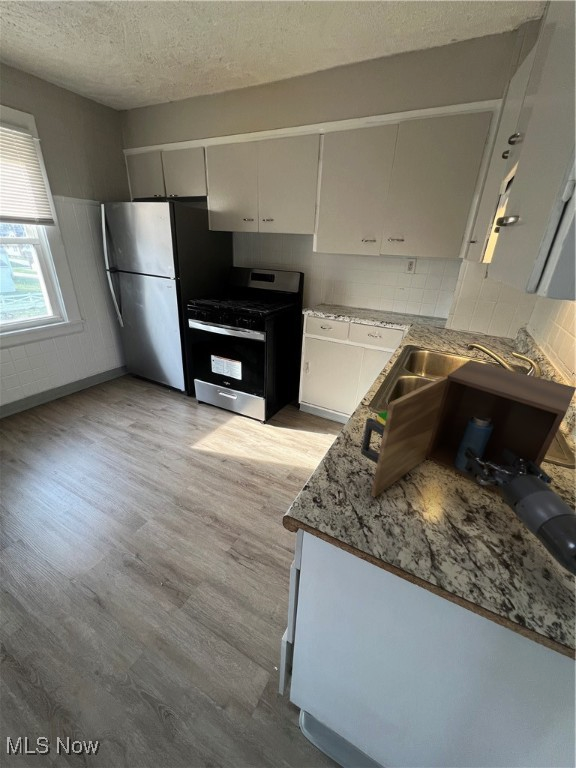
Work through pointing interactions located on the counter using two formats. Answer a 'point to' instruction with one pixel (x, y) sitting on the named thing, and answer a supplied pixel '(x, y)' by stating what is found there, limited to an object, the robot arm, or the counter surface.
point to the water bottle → (474, 439)
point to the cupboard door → (403, 434)
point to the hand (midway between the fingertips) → (485, 450)
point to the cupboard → (498, 414)
